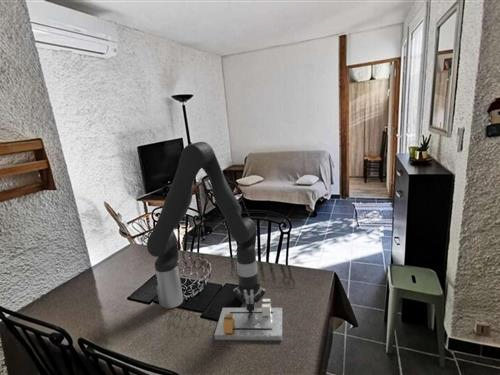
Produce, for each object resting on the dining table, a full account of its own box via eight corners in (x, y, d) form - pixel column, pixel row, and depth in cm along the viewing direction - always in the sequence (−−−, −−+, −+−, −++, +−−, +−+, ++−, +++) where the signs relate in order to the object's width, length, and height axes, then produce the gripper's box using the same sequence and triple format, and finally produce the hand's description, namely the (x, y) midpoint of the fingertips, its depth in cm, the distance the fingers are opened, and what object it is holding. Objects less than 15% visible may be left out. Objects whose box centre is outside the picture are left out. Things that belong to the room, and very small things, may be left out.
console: (214, 341, 105) (213, 336, 104) (223, 311, 120) (222, 307, 119) (282, 342, 102) (281, 337, 101) (282, 312, 117) (282, 307, 116)
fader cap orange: (223, 332, 105) (222, 322, 104) (226, 323, 110) (225, 313, 109) (232, 333, 104) (231, 322, 103) (234, 323, 109) (233, 313, 108)
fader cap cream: (262, 316, 112) (261, 306, 111) (263, 307, 117) (262, 297, 116) (270, 316, 111) (269, 306, 110) (271, 307, 116) (270, 297, 115)
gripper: (228, 276, 108) (232, 317, 112) (264, 276, 106) (267, 317, 110) (231, 266, 115) (235, 304, 119) (265, 265, 113) (268, 304, 118)
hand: (251, 310), depth 115 cm, fingers closed
